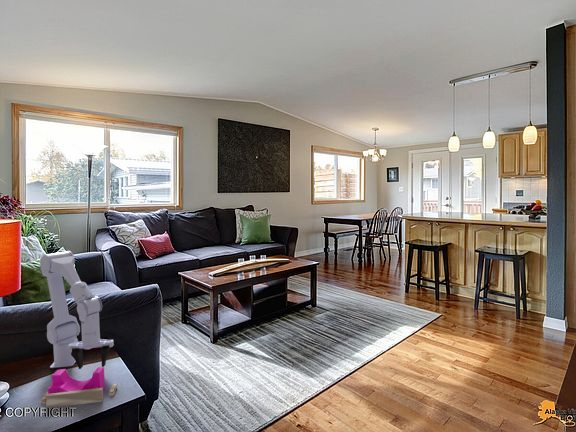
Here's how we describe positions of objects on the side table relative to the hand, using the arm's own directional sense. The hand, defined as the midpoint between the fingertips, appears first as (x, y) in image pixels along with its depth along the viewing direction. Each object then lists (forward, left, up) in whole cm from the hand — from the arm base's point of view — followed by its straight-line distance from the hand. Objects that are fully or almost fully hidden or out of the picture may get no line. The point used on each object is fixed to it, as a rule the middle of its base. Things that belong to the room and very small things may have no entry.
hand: (92, 366), depth 127 cm
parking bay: (+13, 0, -4) cm, 14 cm away
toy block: (+11, -1, -4) cm, 12 cm away
